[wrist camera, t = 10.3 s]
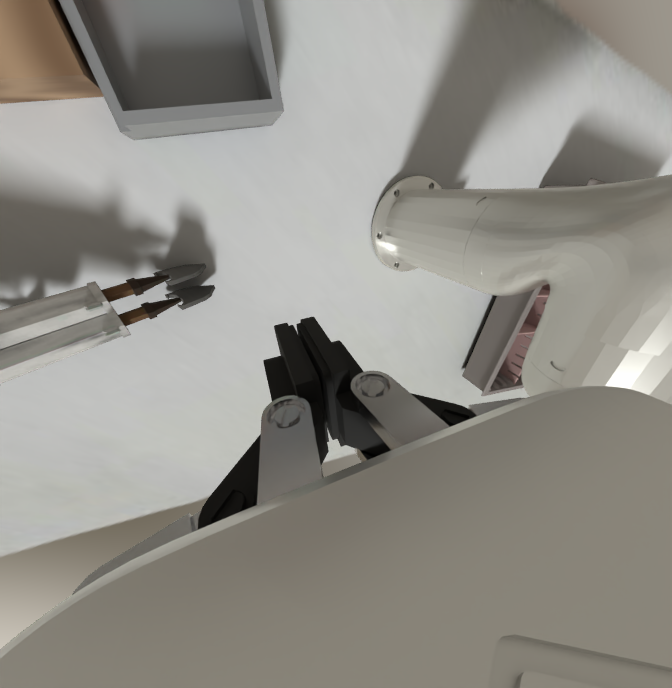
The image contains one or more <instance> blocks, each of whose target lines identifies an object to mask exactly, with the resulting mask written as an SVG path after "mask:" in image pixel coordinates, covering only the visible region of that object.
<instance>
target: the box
mask: <svg viewBox="0 0 672 688" xmlns="http://www.w3.org/2000/svg"><path fill="white" fill-rule="evenodd" d="M59 2H60V4H61V6H62V8H63V11H64V13H65V15H66V17H67V19H68V21H69V23H70V26H71V28H72V30H73V32H74V34H75V36H76V38H77V40H78V43H79V45H80V47H81V49H82V51H83V53H84V55H85V57H86V60H87V62H88V64H89V66H90V68H91V70H92V72H93V75H94V77H95V79H96V81H97V83H98V85H99V87H100V89H101V92H102V94H103V96H104V98H105V100H106V102H107V104H108V107H109V109H110V111H111V113H112V115H113V117H114V119H115V121H116V124H117V126H118V128H119V130H120V132H121V133H123V134H124V135H126V136H128V137H129V138H131V139H133V140H140V139H149V138H158V137H168V136H177V135H186V134H195V133H205V132H214V131H223V130H233V129H242V128H251V127H261V126H270V125H273V124H274V122H275V121H276V120H277V119H278V118H279V116H280V115H281V114H282V113H283V111H284V108H283V103H282V97H281V92H280V86H279V81H278V76H277V70H276V65H275V59H274V54H273V49H272V43H271V38H270V32H269V27H268V22H267V16H266V11H265V5H264V0H59Z"/></svg>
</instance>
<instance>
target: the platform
mask: <svg viewBox="0 0 672 688" xmlns="http://www.w3.org/2000/svg"><path fill="white" fill-rule="evenodd" d="M89 97H103V94H102V92H101V89H100V87H99V85H98V83H97V81H96V79H95V77H94V75H93V72H92V70H91V68H90V66H89V64H88V62H87V60H86V57H85V55H84V53H83V51H82V49H81V47H80V45H79V43H78V40H77V38H76V36H75V34H74V32H73V30H72V28H71V26H70V23H69V21H68V19H67V17H66V15H65V13H64V11H63V8H62V6H61V4H60V2H59V0H0V104H2V103H16V102H31V101H45V100H60V99H74V98H89Z"/></svg>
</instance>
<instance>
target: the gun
mask: <svg viewBox="0 0 672 688" xmlns="http://www.w3.org/2000/svg"><path fill="white" fill-rule="evenodd" d="M205 268H206V265H205V264H194V265H183V266H179V267H174V268H170V269H166V270H162V271H159V272H156V273H153V274H154V275H155V276H154V277H147V278H140V279H134V278H132V279H128V280H126V281H127V283H124V284H120V285H117V286H114V287H110V288H107V289H104V290H101V289H100V288H99V286H98V285H97V284H96V282H91V283H87V286H84V287H81V288H77V289H74V290H70V291H67V292H63V293H60V294H56V295H53V296H49V297H45V298H42V299H38V300H35V301H31V302H28V303H24V304H21V305H17V306H14V307H10V308H7V309H3V310H0V384H1V383H3V382H6V381H8V380H11V379H14V378H16V377H19V376H21V375H24V374H26V373H29V372H31V371H34V370H37V369H39V368H42V367H44V366H47V365H49V364H52V363H54V362H57V361H60V360H62V359H65V358H67V357H70V356H72V355H75V354H77V353H80V352H83V351H85V350H88V349H90V348H93V347H95V346H98V345H100V344H103V343H106V342H108V341H111V340H113V339H116V338H118V337H121V336H123V337H126V336H129V335H131V334H130V332H129V331H128V329H127V328H126V326H127V325H130V324H132V323H135V322H138V321H140V320H143V319H146V318H148V317H149V318H150V319H152V318H155V317H157V315H158V314H160V313H161V312H163V311H165V310H167V309H169V308H170V307H172V306H174V305H176V304H177V303H179V302H181V301H182V302H184V303H183V304H182V305H178V304H177V305H178V307H179V308H181V309H182V310H183V309H186V308H188V307H191V306H193V305H196V304H198V303H200V302H203V301H205V300H207V299H208V298H209V297H211V296H212V293H213V291H214V289H215V287H214V285H209V286H193V287H189V288H185V289H181V290H178V291H175V292H172V293H169V294H166V295H165V296H166V298H168V299H169V298H174V299H169V300H164V301H158V302H153V303H148V302H147V303H144V304H141V306H142V307H140V308H137V309H134V310H131V311H128V312H125V313H123V314H120V315H118V314H117V313H116V311H115V310H114V309H113V307H112V306H111V304H110V303H109V302H111V301H114V300H117V299H120V298H123V297H126V296H130V295H133V294H135V295H136V296H138V295H141V294H144V293H143V292H144V291H146V290H148V289H150V288H152V287H154V286H156V285H158V284H160V283H162V282H164V281H165V282H166V284H168V285H170V286H171V285H174V284H177V283H180V282H183V281H186V280H189V279H191V278H194V277H196V276H198V275H200V274H201V273H202V272H203V270H204V269H205ZM168 279H171V280H170V281H166V280H168Z"/></svg>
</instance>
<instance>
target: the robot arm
mask: <svg viewBox="0 0 672 688" xmlns="http://www.w3.org/2000/svg"><path fill="white" fill-rule="evenodd" d="M377 234H378V236H377ZM372 242H373V247H374V250H375V252H376V255H377V256H378V258H379V259H380V261H381V262H382V263H383V264H384V265H386V266H387V267H389V268H391V269H393V270H396V271H410V270H414V269H416V268H421V269H424V270H426V271H429V272H431V273H434V274H437V275H439V276H442V277H444V278H447V279H450V280H452V281H455V282H457V283H460V284H463V285H465V286H468V287H471V288H473V289H476V290H479V291H481V292H484V293H487V294H491V295H496V296H512V295H517V294H521V293H525V292H528V291H531V290H534V289H536V288H539V287H542V286H544V285H547V284H549V285H550V293H549V296H548V299H547V302H546V304H545V309H544V312H543V314H542V316H541V319H540V321H539V324H538V326H537V328H536V331H535V333H534V336H533V338H532V341H531V343H530V345H529V348H528V351H527V353H526V356H525V359H524V362H523V365H522V371H521V378H522V383H523V386H524V388H525V390H526V392H527V394H528V395H529V396H530V397H528V398H515V399H508V400H501V401H494V402H487V403H480V404H473V405H469V407H468V409H467V408H465V407H463V406H460V405H457V404H454V403H449V402H445V401H441V400H437V399H432V398H428V397H424V396H420V395H416V394H411V393H409V392H408V391H407V390H406V389H405V388H403V387H402V386H401V385H400V384H399V383H397V382H396V381H395V380H394V379H393V378H391V377H390V376H389V375H387V374H385V373H382V372H379V371H366V372H363V370H362V369H361V368H360V366H359V365H358V364H357V362H356V361H355V360H354V358H353V357H352V356H351V354H350V353H349V352H348V350H347V349H346V348H345V346H344V345H343V344H342V343H341V342H340V341H335V342H331V341H330V340H329V338H328V337H327V335H326V334H325V332H324V331H323V329H322V328H321V327H320V325H319V324H318V322H317V321H316V319H315V318H314V317H310V318H305V319H301V323H299V324H297V331H298V334H297V332H296V330H295V328H294V326H293V325H290V326H288V324H287V323H284V324H279V325H275V326H274V329H275V333H276V337H277V341H278V345H279V350H280V354H281V356H278V357H274V358H270V359H267V360H263V361H264V366H265V371H266V375H267V380H268V384H269V389H270V393H271V398H272V402H271V403H270V404H269V405H268V406H267V407H266V408H265V410H264V411H263V414H262V420H261V434H260V436H259V437H258V438H257V439H256V441H255V442H254V443H253V444H252V445H251V447H250V448H249V449H248V450H247V452H246V453H245V454H244V455H243V456H242V458H241V459H240V460H239V461H238V463H237V464H236V465H235V466H234V468H233V469H232V470H231V471H230V472H229V474H228V475H227V476H226V477H225V479H224V480H223V481H222V482H221V483H220V485H219V486H218V487H217V488H216V490H215V491H214V492H213V493H212V495H211V496H210V497H209V498H208V500H207V501H206V503H205V504H204V506H203V508H202V510H201V511H200V512H198V513H196V514H195V515H193V516H191V515H190V514H189V513H188V514H187V515H185V516H183V517H182V518H180V519H179V520H177V521H175V522H173V523H172V524H170V525H168V526H167V527H165V528H164V529H162V530H160V531H159V532H157V533H155V534H154V535H152V536H150V537H149V538H147V539H145V540H144V541H142V542H140V543H139V544H137V545H135V546H134V547H132V548H130V549H129V550H127V551H125V552H124V553H122V554H120V555H119V556H117V557H115V558H114V559H112V560H110V561H109V562H107V563H105V564H104V565H102V566H101V567H99V568H98V569H97V570H95V571H94V572H93V573H92V574H90V575H89V576H88V577H87V578H86V579H85V580H84V581H83V582H82V583H81V584H80V585H79V586H78V588H77V589H76V590H75V591H74V593H73V594H72V596H70V597H69V598H67V599H65V600H64V601H62V602H61V603H60V604H58V605H57V606H56V607H54V608H53V609H51V610H50V611H49V612H47V613H46V614H45V615H43V616H42V617H41V618H40V619H38V620H37V621H36V622H34V623H33V624H31V625H30V626H29V627H27V628H26V629H25V630H23V631H22V632H21V633H20V634H18V635H17V636H16V637H14V638H13V639H12V640H11V641H10V642H9V643H7V644H6V645H5V646H4V647H3V648H2V649H0V688H672V175H666V176H659V177H652V178H646V179H639V180H632V181H626V182H618V183H608V184H599V185H590V186H579V187H559V188H521V189H442V188H441V186H440V185H439V184H438V183H437V182H436V181H434V180H433V179H431V178H429V177H425V176H412V177H407V178H404V179H402V180H400V181H398V182H397V183H396V184H394V185H393V186H392V187H391V188H390V189H389V190H388V191H387V192H386V193H385V195H384V196H383V197H382V199H381V200H380V202H379V204H378V207H377V209H376V211H375V215H374V218H373V223H372ZM327 428H328V430H329V433H330V435H331V437H332V439H333V440H334V439H338V441H339V443H340V445H341V446H344V445H348V446H350V447H353V448H355V452H356V454H357V456H358V458H359V459H360V460H361V463H359V464H356V465H354V466H351V467H349V468H347V469H344V470H342V471H339V472H337V473H334V474H332V475H329V476H327V477H323V472H322V466H321V465H322V463H323V461H324V459H325V457H326V455H327V453H328V445H327V442H329V438H328V432H327Z"/></svg>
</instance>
